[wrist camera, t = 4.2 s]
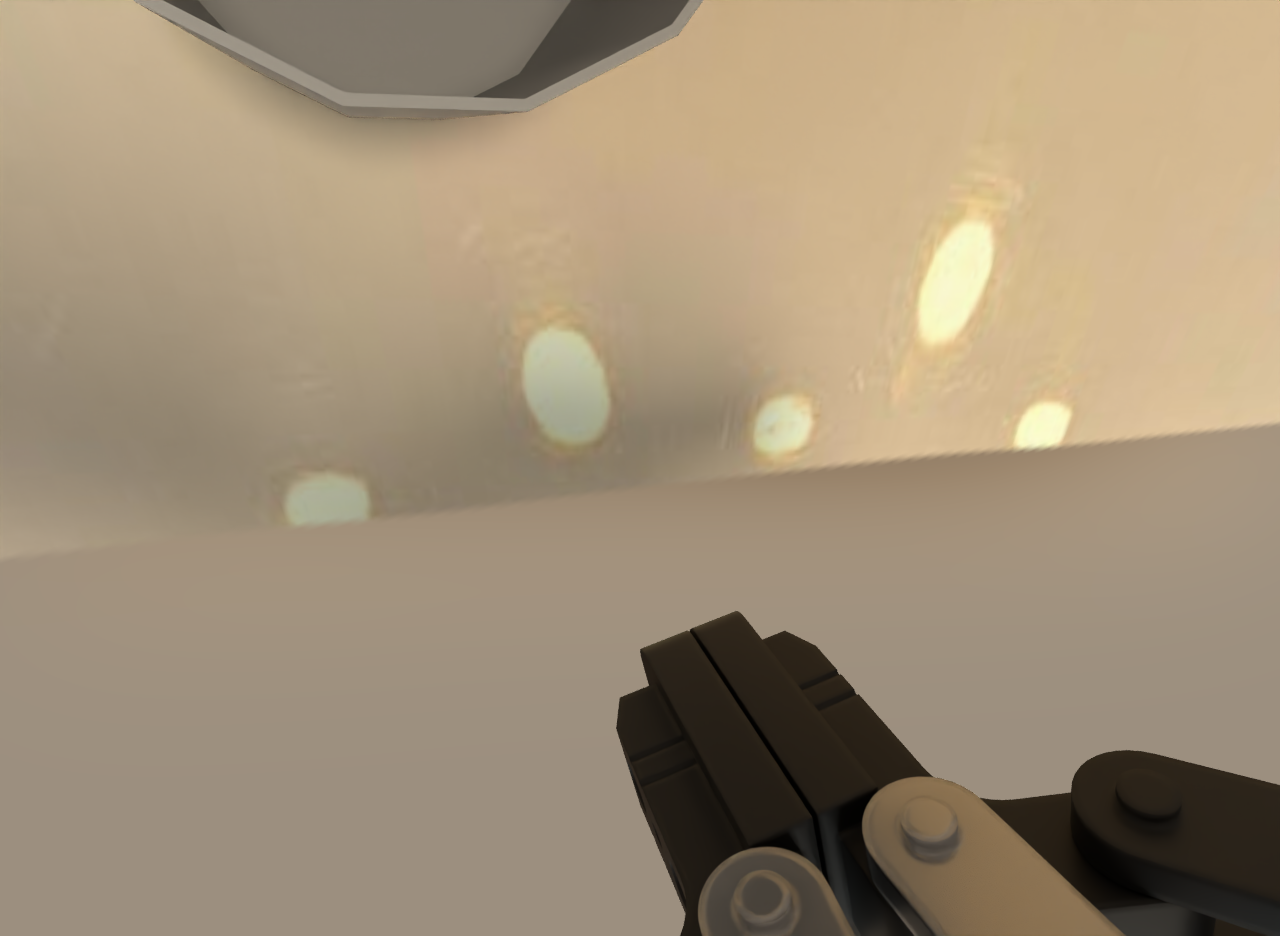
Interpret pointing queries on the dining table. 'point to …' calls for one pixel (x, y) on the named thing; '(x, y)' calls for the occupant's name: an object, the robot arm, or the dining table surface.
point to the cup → (430, 48)
